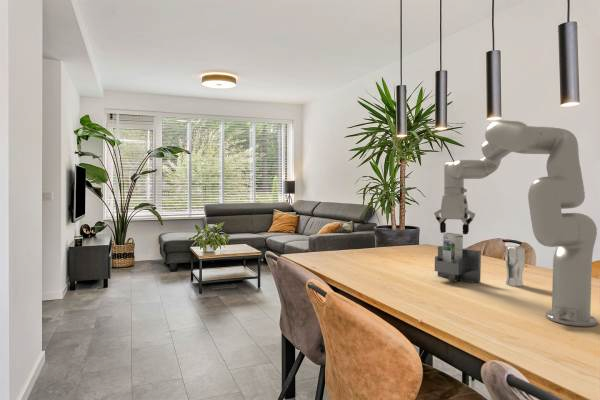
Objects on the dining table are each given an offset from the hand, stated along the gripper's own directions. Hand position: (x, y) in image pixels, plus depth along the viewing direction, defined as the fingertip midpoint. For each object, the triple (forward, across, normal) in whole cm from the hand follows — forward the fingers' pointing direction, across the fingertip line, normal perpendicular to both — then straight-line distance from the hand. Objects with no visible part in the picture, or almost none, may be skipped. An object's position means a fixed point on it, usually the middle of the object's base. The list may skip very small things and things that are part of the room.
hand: (454, 233), depth 170 cm
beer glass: (+20, -19, -12) cm, 31 cm away
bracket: (+20, +1, 0) cm, 20 cm away
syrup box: (+15, +1, 0) cm, 15 cm away
